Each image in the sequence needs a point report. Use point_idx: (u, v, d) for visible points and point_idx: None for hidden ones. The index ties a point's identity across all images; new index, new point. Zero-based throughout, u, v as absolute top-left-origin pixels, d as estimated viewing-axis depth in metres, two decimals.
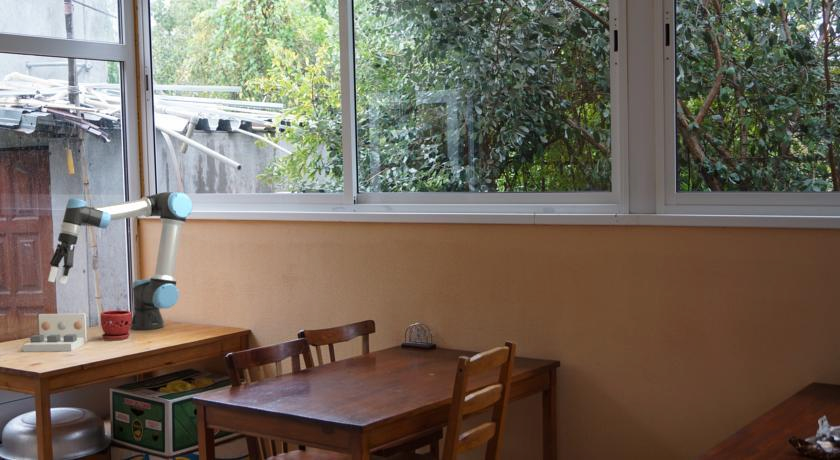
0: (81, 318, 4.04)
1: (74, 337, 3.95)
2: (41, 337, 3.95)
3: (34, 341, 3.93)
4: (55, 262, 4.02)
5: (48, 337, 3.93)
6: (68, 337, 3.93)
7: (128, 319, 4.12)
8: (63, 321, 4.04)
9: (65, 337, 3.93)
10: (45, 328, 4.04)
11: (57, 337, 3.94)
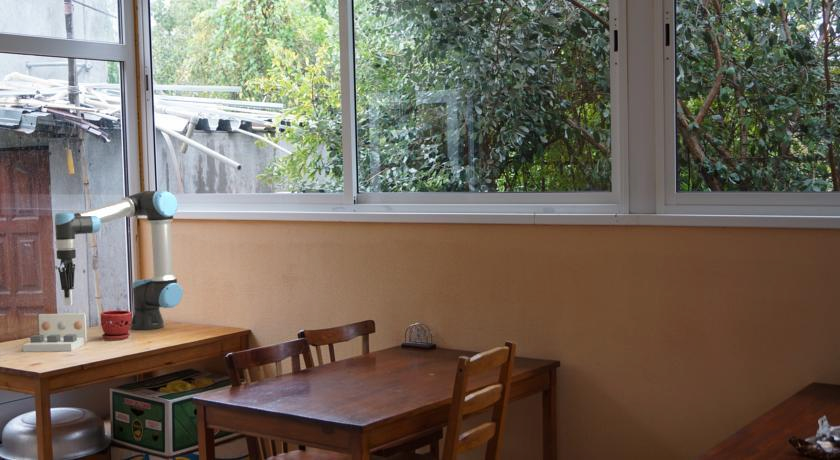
0: (81, 318, 4.04)
1: (74, 337, 3.95)
2: (41, 337, 3.95)
3: (34, 341, 3.93)
4: None
5: (48, 337, 3.93)
6: (68, 337, 3.93)
7: (128, 319, 4.12)
8: (63, 321, 4.04)
9: (65, 337, 3.93)
10: (45, 328, 4.04)
11: (57, 337, 3.94)
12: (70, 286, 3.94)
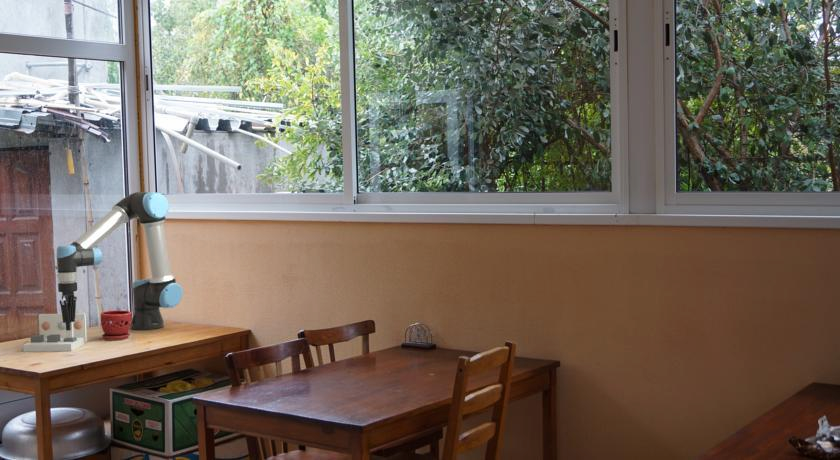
0: (81, 318, 4.04)
1: (74, 340, 3.95)
2: (41, 337, 3.95)
3: (34, 341, 3.93)
4: None
5: (48, 337, 3.93)
6: (68, 340, 3.93)
7: (128, 319, 4.12)
8: None
9: (65, 340, 3.93)
10: (45, 328, 4.04)
11: (57, 337, 3.94)
12: (71, 319, 3.95)
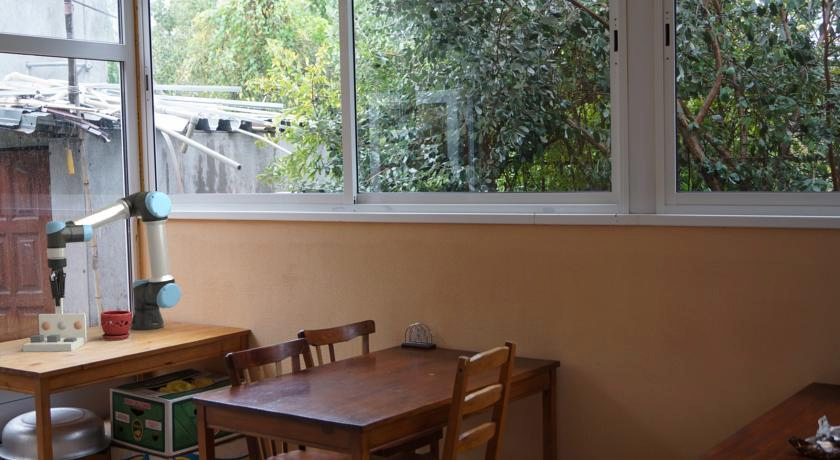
0: (81, 318, 4.04)
1: (74, 340, 3.95)
2: (41, 337, 3.95)
3: (34, 341, 3.93)
4: None
5: (48, 337, 3.93)
6: (68, 340, 3.93)
7: (128, 319, 4.12)
8: (63, 321, 4.04)
9: (65, 340, 3.93)
10: (45, 328, 4.04)
11: (57, 337, 3.94)
12: (61, 295, 3.94)
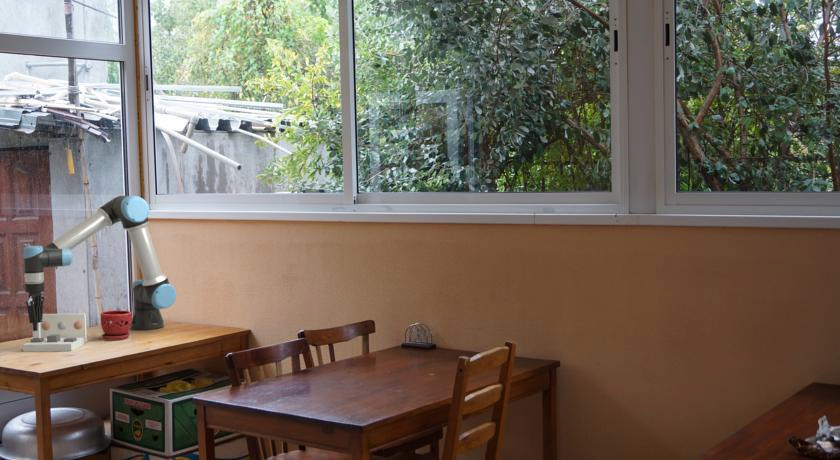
0: (81, 318, 4.04)
1: (74, 340, 3.95)
2: (41, 340, 3.95)
3: None
4: None
5: (48, 337, 3.93)
6: (68, 340, 3.93)
7: (128, 319, 4.12)
8: (63, 321, 4.04)
9: (65, 340, 3.93)
10: (45, 328, 4.04)
11: (57, 337, 3.94)
12: (38, 319, 3.95)
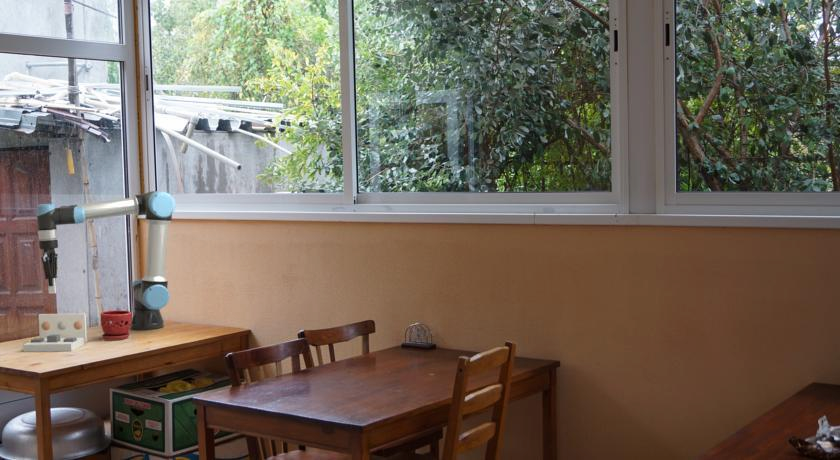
0: (81, 318, 4.04)
1: (74, 340, 3.95)
2: (41, 340, 3.95)
3: None
4: None
5: (48, 337, 3.93)
6: (68, 340, 3.93)
7: (128, 319, 4.12)
8: (63, 321, 4.04)
9: (65, 340, 3.93)
10: (45, 328, 4.04)
11: (57, 337, 3.94)
12: (53, 275, 4.08)
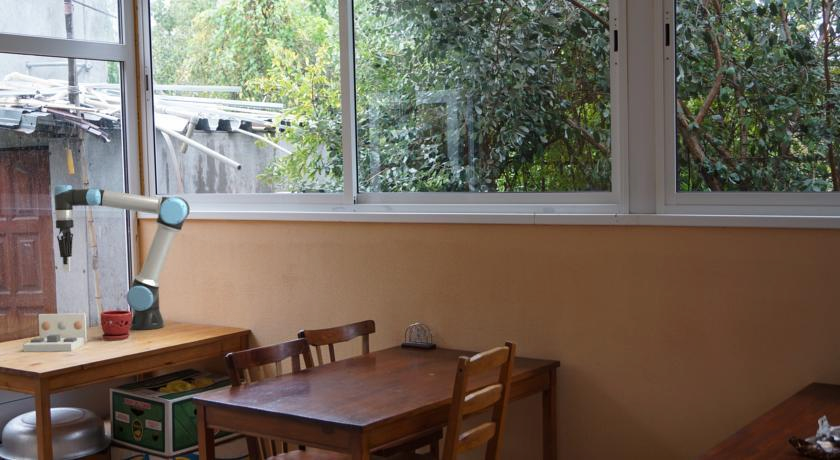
0: (81, 318, 4.04)
1: (74, 340, 3.95)
2: (41, 340, 3.95)
3: None
4: None
5: (48, 337, 3.93)
6: (68, 340, 3.93)
7: (128, 319, 4.12)
8: (63, 321, 4.04)
9: (65, 340, 3.93)
10: (45, 328, 4.04)
11: (57, 337, 3.94)
12: (68, 254, 4.24)
